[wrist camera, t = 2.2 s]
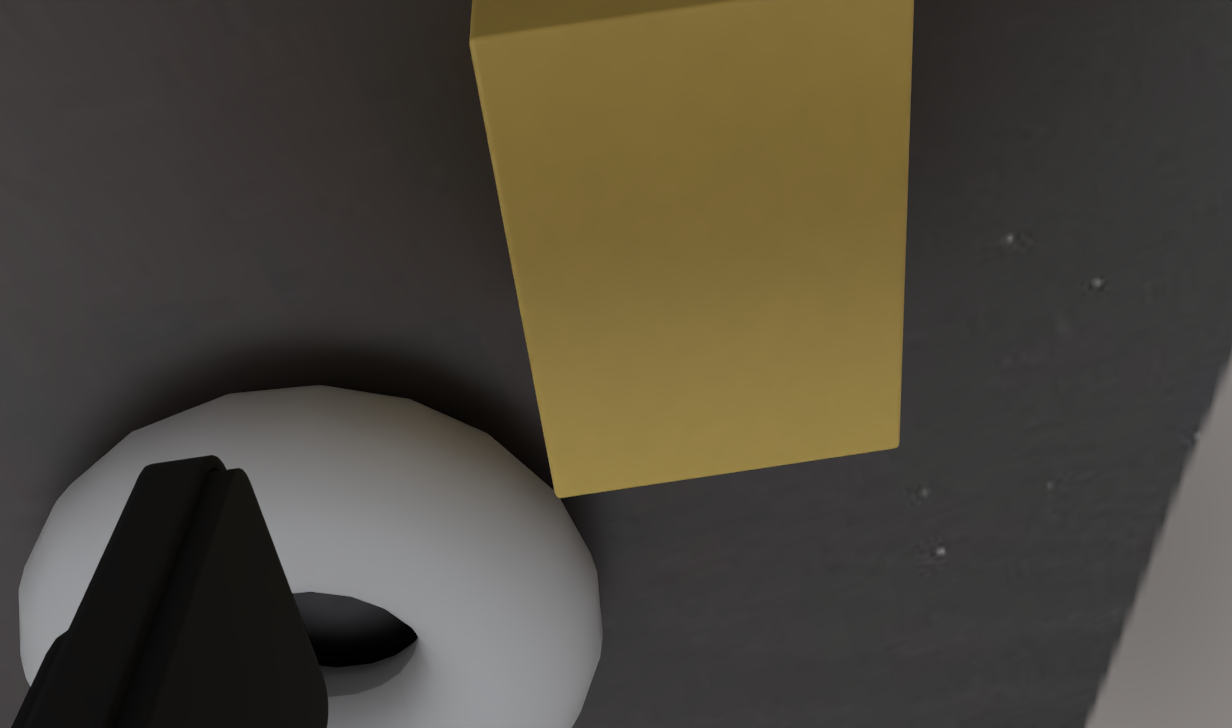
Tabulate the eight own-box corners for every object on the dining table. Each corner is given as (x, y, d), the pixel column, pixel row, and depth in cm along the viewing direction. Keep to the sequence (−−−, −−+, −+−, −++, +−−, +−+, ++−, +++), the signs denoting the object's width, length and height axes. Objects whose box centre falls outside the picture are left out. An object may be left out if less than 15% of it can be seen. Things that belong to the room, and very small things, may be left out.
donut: (113, 265, 17) (16, 687, 22) (37, 383, 14) (-58, 842, 19) (680, 438, 20) (491, 779, 25) (712, 566, 17) (492, 926, 22)
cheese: (475, -69, 15) (467, 39, 11) (800, -116, 15) (917, -27, 11) (542, 307, 18) (555, 500, 14) (808, 268, 18) (900, 449, 14)
